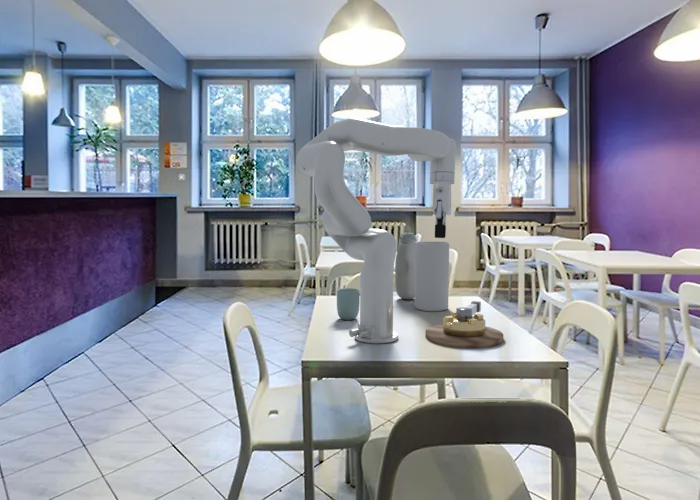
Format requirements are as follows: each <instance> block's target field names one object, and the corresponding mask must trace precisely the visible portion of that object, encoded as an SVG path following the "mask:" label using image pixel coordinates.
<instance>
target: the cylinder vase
mask: <svg viewBox="0 0 700 500" xmlns="http://www.w3.org/2000/svg"><path fill="white" fill-rule="evenodd" d="M449 272H450V242H448V241H417V242H415V298H414V308H415V309H417V310H418V311H422V312H443V311H444V312H445V311H447V310H448V308H449V292H450V291H449V284H450V283H449V281H450V277H449V276H450V273H449Z"/></svg>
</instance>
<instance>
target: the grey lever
mask: <svg viewBox="0 0 700 500" xmlns="http://www.w3.org/2000/svg"><path fill="white" fill-rule="evenodd" d="M481 306H482V305H481V301H478V300H477V301H475V300H473V301H470V304H468V305H467V306H465V307H464V306H463V307H456V311H451V315H445V316H444V317H442V324H443V332H445V333H447V334H450V335H454V336H462V337H475V336H481V335H484V334H485V326H486V320H485V319H484V315H483V314H481V313H480V312H481V309H482V307H481Z"/></svg>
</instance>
